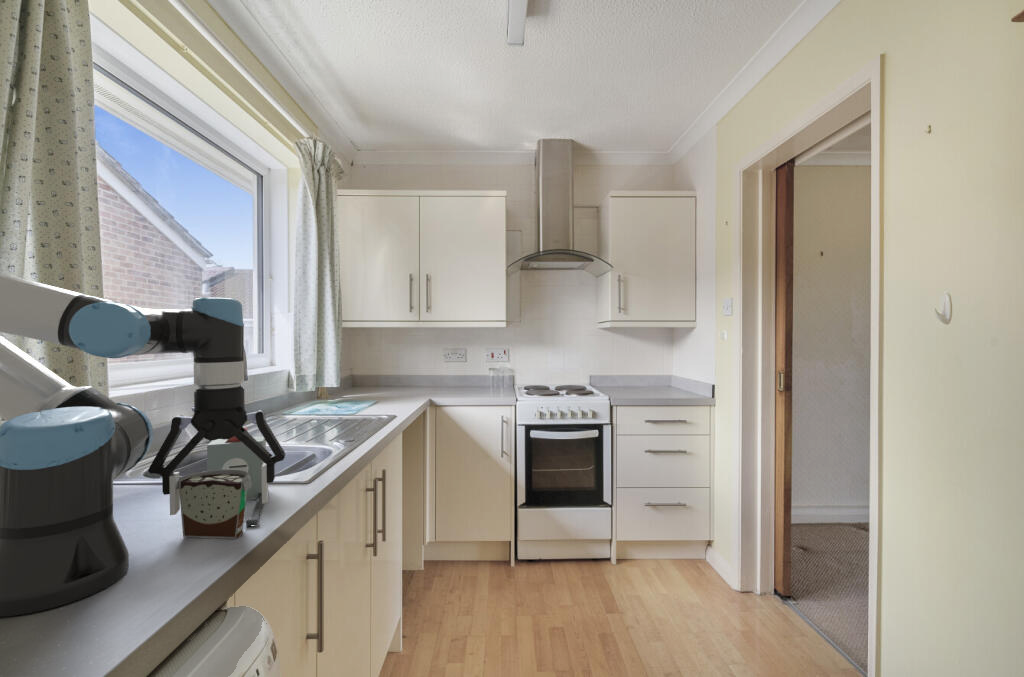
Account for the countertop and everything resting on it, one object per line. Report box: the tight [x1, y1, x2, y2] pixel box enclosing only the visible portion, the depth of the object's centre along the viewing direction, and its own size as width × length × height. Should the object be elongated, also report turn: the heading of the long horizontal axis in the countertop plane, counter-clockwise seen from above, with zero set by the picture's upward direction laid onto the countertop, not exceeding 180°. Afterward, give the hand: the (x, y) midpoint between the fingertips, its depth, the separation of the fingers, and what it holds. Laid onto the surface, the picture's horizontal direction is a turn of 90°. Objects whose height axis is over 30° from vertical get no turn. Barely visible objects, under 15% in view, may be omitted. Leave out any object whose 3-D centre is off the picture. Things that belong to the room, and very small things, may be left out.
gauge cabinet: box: [206, 435, 267, 501], centre depth 99 cm, size 10×6×12 cm, turn 111°
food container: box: [176, 470, 252, 540], centre depth 82 cm, size 12×6×10 cm, turn 86°
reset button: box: [228, 427, 248, 442], centre depth 100 cm, size 3×3×2 cm
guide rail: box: [245, 490, 270, 527], centre depth 92 cm, size 2×17×1 cm, turn 22°
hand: (221, 506), depth 83 cm, fingers open, 13 cm apart
